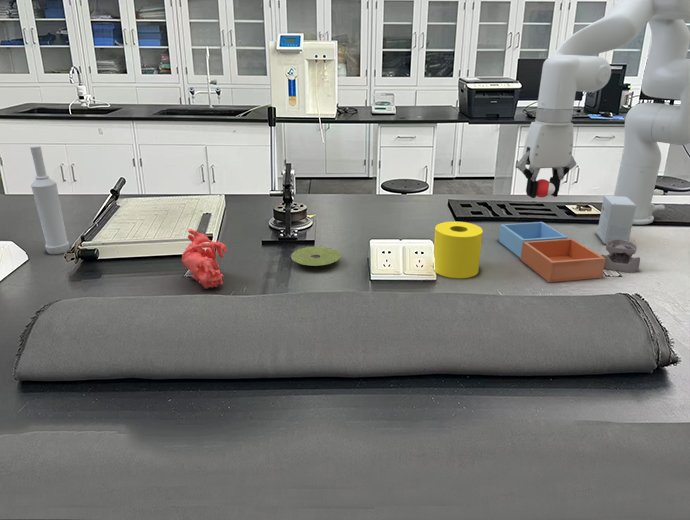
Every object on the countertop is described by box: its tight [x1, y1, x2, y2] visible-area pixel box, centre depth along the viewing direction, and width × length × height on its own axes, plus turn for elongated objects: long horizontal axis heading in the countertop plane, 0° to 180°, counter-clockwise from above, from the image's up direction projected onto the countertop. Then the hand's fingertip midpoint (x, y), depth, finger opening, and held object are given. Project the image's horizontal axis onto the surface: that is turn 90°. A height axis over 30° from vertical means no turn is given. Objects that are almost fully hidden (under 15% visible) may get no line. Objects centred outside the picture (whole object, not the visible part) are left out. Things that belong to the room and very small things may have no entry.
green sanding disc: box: [290, 246, 341, 267], centre depth 121 cm, size 11×11×2 cm
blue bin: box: [498, 221, 569, 259], centre depth 129 cm, size 11×11×4 cm
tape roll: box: [433, 221, 484, 279], centre depth 116 cm, size 10×10×9 cm
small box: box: [596, 195, 636, 245], centre depth 133 cm, size 8×6×10 cm
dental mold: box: [600, 239, 641, 273], centre depth 119 cm, size 8×7×5 cm
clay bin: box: [520, 237, 606, 283], centre depth 118 cm, size 12×12×4 cm
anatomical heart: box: [181, 228, 228, 289], centre depth 110 cm, size 9×12×12 cm
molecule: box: [536, 178, 555, 198], centre depth 124 cm, size 5×5×4 cm
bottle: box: [29, 145, 71, 255], centre depth 123 cm, size 5×5×25 cm
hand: (541, 195), depth 125 cm, fingers closed on molecule, 4 cm apart
